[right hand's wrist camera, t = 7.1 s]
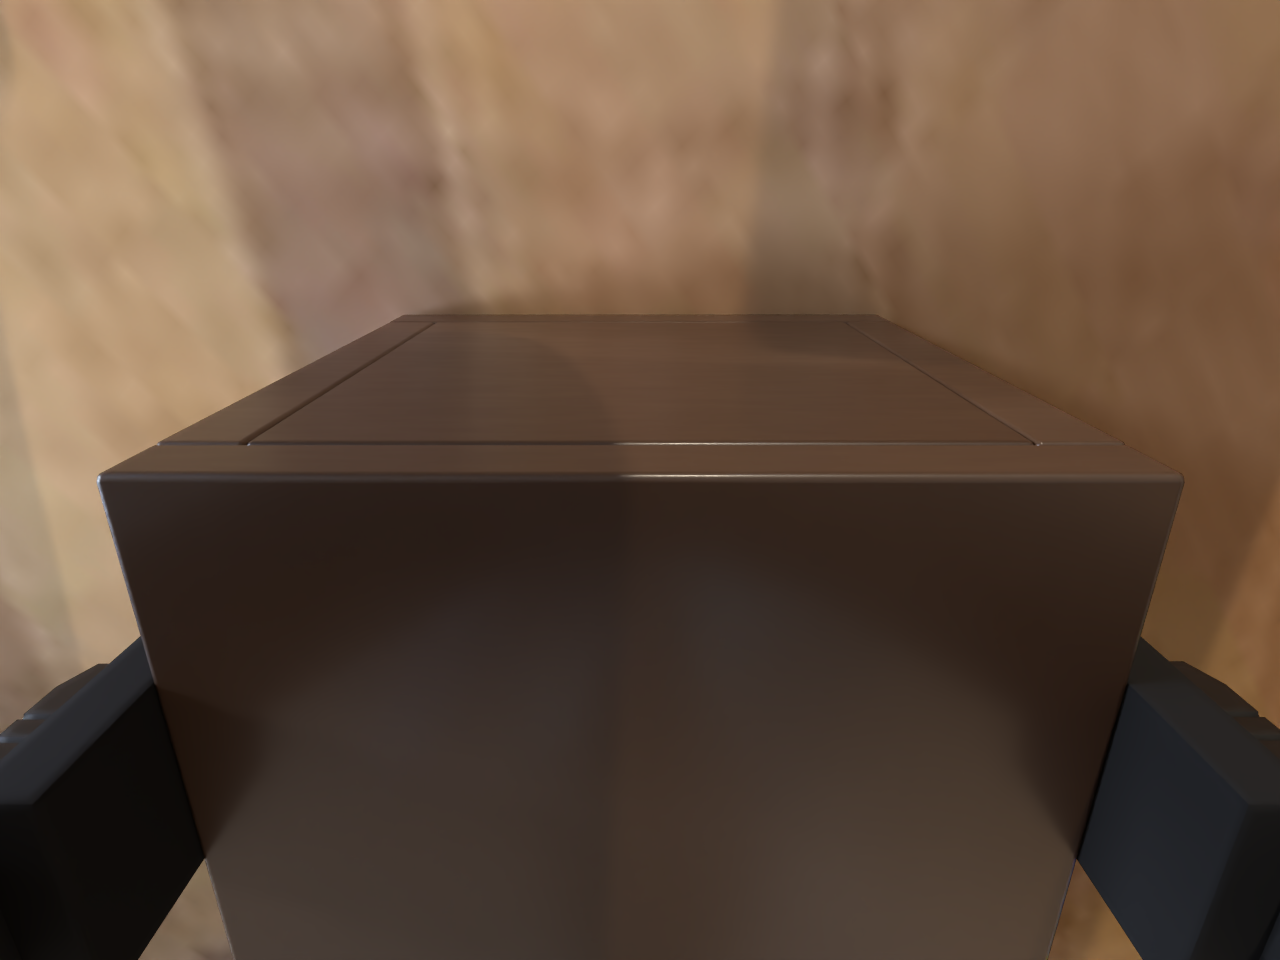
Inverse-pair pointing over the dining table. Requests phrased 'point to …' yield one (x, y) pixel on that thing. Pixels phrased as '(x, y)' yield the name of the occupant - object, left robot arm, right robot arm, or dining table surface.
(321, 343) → the dining table surface
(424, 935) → the cabinet
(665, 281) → the dining table surface
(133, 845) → the right robot arm
